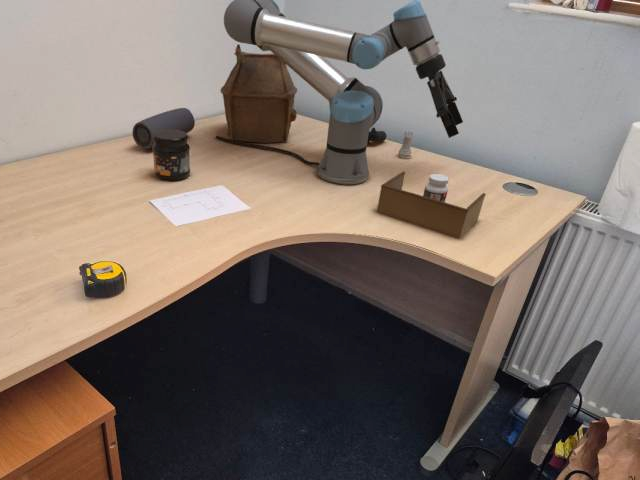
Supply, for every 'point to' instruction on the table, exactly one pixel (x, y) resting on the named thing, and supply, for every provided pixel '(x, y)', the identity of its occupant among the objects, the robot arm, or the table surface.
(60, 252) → the table surface
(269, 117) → the hut
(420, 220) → the brown u-shaped partition wall
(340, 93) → the robot arm
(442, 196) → the pill bottle
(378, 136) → the gaming controller
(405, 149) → the rook chess piece
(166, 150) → the supplement container
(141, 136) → the bluetooth speaker
